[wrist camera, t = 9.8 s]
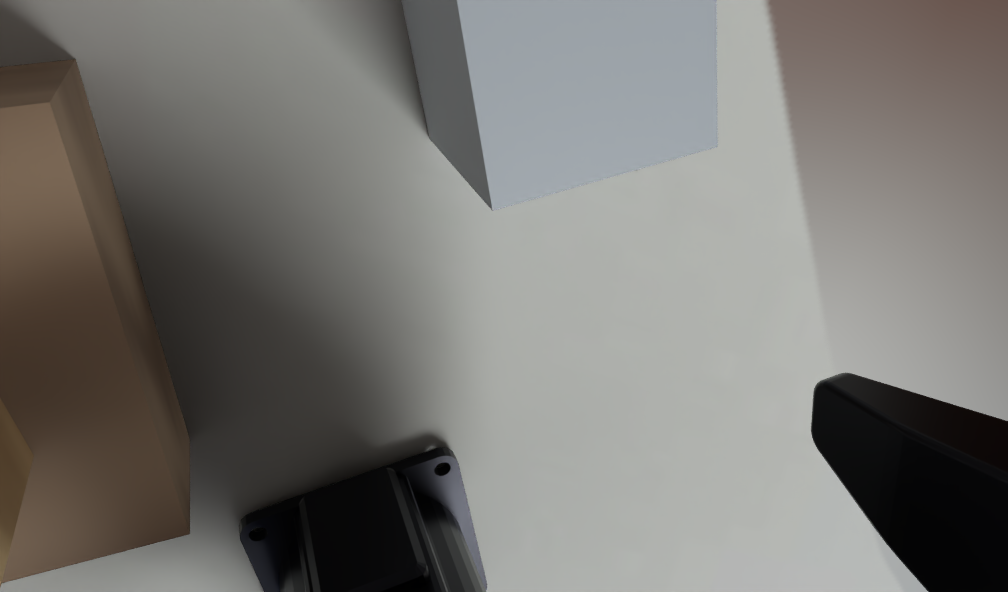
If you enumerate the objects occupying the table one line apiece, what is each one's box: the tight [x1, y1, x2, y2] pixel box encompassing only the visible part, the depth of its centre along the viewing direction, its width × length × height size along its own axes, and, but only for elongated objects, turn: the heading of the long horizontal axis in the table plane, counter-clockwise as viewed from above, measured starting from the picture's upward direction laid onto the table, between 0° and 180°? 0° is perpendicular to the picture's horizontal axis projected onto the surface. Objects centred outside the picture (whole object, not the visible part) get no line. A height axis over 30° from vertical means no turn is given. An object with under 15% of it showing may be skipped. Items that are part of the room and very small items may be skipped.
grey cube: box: [401, 0, 718, 211], centre depth 17 cm, size 5×5×5 cm
